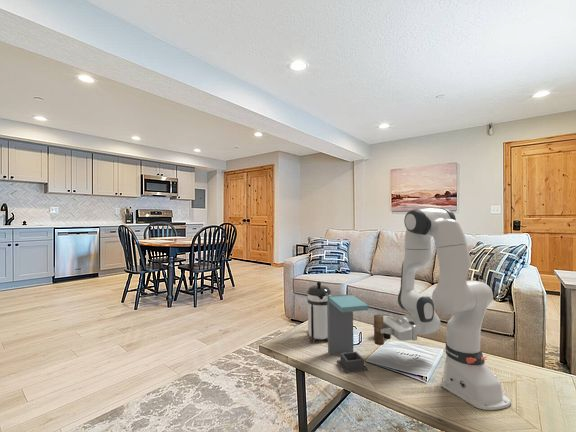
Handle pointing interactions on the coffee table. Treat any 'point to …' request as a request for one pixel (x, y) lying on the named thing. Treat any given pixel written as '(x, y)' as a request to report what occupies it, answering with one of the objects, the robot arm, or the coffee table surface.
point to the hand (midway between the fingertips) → (377, 328)
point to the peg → (377, 325)
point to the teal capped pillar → (342, 322)
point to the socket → (351, 362)
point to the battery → (385, 333)
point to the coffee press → (318, 312)
